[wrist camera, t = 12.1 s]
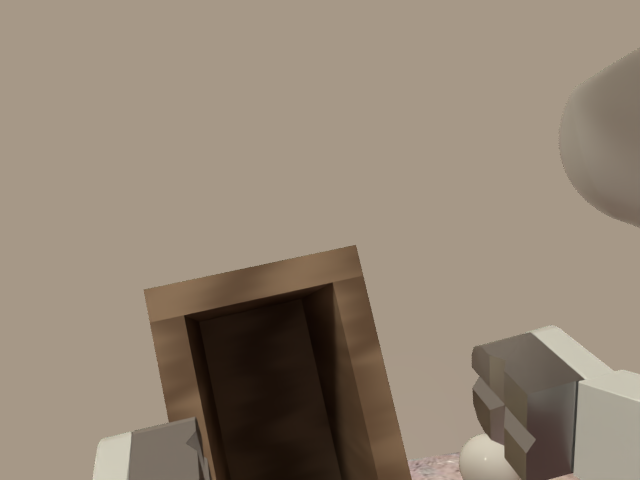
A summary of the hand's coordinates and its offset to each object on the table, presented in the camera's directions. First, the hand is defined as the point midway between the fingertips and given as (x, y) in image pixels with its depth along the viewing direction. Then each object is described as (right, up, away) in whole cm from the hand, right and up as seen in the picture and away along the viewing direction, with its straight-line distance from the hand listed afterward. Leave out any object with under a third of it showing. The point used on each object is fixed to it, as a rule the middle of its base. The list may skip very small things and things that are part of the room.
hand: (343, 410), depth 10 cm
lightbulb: (+19, -29, +52) cm, 62 cm away
